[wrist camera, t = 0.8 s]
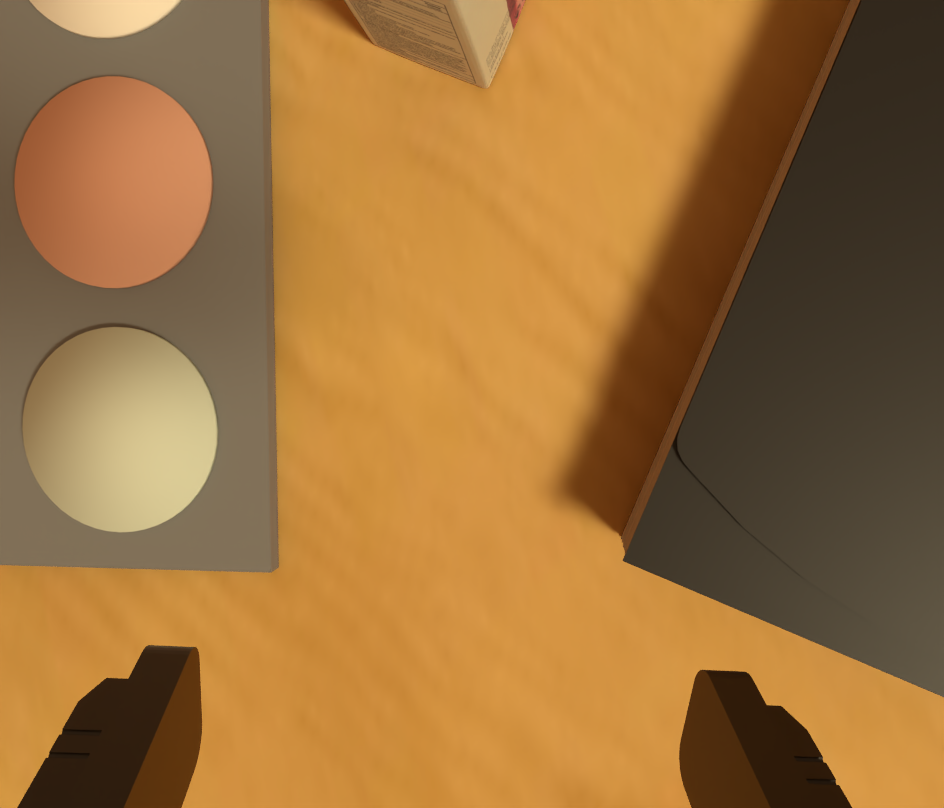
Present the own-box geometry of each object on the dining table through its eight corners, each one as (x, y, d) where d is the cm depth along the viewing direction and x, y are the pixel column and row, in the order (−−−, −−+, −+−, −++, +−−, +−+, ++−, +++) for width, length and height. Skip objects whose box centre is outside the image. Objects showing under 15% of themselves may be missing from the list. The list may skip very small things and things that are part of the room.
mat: (-26, -189, 32) (-47, -209, 31) (264, -219, 31) (253, -240, 30) (0, 559, 34) (-19, 566, 33) (278, 567, 32) (268, 574, 31)
